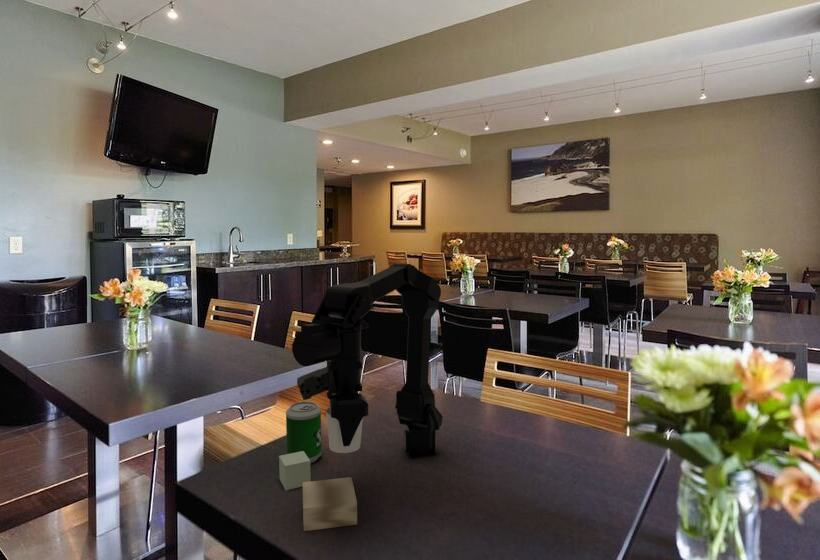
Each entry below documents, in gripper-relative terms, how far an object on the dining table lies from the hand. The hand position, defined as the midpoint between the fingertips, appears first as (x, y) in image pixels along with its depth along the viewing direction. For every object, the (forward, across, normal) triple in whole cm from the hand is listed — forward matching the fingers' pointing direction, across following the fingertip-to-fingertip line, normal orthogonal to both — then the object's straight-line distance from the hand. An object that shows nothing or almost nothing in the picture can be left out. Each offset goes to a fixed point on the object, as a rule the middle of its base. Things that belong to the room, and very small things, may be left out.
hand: (344, 438), depth 92 cm
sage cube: (+12, -10, -9) cm, 18 cm away
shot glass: (+2, 0, 0) cm, 2 cm away
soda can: (+12, -20, -7) cm, 24 cm away
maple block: (+12, +3, -3) cm, 13 cm away
